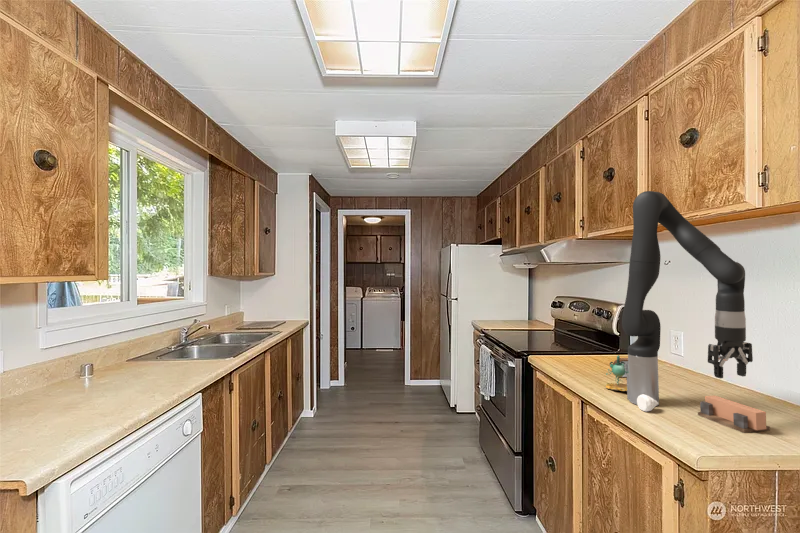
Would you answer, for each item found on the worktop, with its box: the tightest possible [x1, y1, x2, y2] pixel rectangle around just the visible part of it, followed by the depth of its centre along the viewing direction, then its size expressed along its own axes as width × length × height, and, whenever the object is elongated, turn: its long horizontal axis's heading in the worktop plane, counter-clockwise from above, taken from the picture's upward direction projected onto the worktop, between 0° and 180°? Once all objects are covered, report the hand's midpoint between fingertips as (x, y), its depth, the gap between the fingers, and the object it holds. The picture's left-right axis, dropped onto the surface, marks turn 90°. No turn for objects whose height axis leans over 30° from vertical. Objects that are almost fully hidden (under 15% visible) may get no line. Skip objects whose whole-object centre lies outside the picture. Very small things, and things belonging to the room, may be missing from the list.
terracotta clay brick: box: [704, 394, 767, 430], centre depth 126 cm, size 4×16×5 cm, turn 10°
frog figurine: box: [605, 355, 629, 392], centre depth 162 cm, size 10×18×15 cm, turn 175°
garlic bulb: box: [637, 394, 659, 412], centre depth 138 cm, size 6×6×6 cm
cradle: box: [697, 400, 771, 434], centre depth 126 cm, size 15×9×4 cm, turn 10°
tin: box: [612, 357, 629, 379], centre depth 179 cm, size 15×3×8 cm, turn 81°
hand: (730, 376), depth 127 cm, fingers open, 8 cm apart
